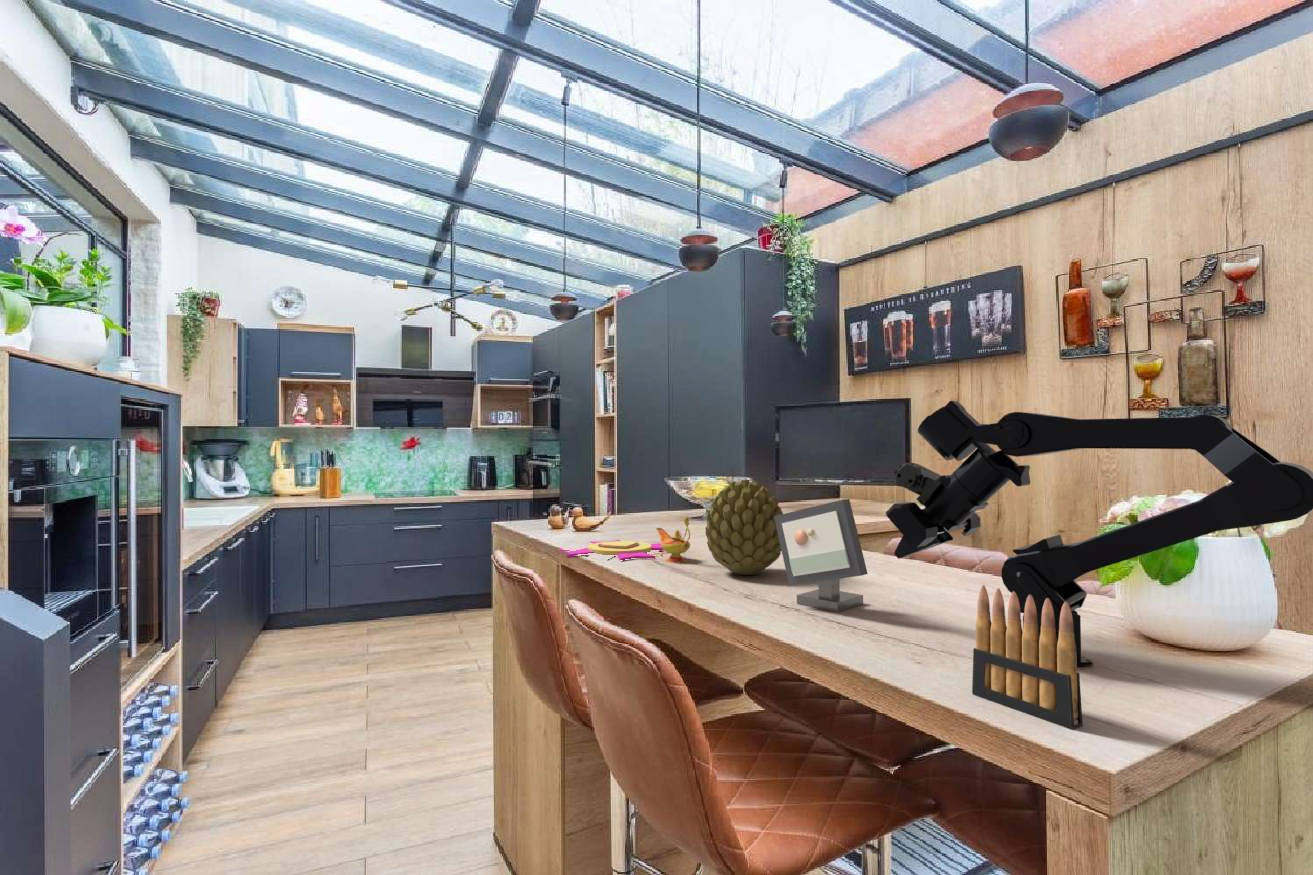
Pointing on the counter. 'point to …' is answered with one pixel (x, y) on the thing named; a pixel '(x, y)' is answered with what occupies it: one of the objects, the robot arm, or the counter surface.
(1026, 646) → the ammunition clip
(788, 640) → the counter surface
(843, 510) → the picture frame
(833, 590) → the picture stand
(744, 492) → the decorative object
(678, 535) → the magic lamp
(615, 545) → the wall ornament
